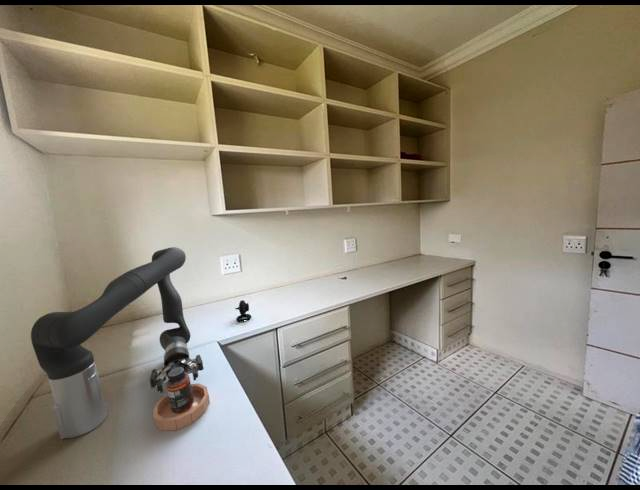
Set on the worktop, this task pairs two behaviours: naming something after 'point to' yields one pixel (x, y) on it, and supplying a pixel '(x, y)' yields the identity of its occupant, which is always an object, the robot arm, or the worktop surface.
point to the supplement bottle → (179, 390)
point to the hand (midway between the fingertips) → (178, 383)
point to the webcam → (243, 311)
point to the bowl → (178, 420)
